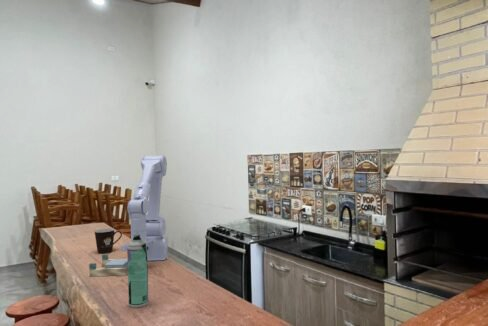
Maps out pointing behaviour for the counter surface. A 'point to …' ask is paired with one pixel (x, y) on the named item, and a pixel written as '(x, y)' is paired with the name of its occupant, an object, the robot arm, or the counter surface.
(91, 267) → the channel
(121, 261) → the block
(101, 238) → the coffee mug
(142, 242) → the spray can
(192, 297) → the counter surface
